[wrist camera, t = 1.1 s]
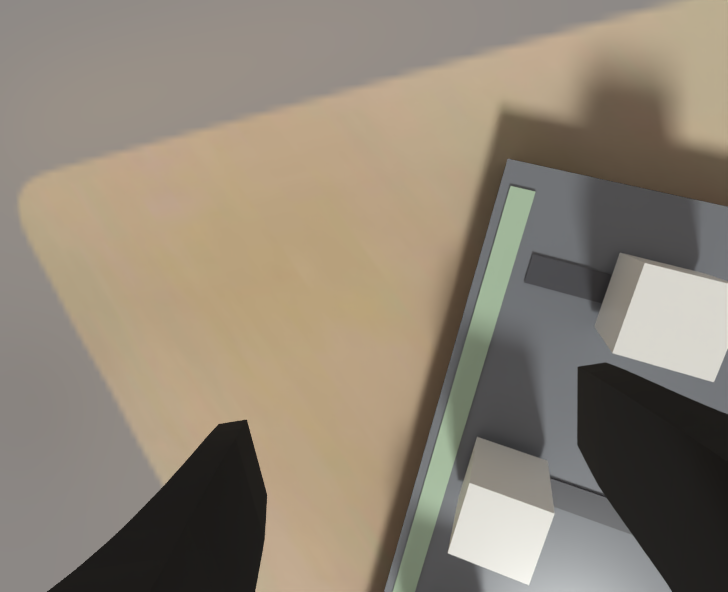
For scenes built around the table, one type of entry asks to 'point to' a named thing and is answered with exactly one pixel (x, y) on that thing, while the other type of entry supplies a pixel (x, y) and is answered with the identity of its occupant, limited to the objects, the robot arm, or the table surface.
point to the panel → (550, 373)
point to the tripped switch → (666, 316)
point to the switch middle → (503, 511)
